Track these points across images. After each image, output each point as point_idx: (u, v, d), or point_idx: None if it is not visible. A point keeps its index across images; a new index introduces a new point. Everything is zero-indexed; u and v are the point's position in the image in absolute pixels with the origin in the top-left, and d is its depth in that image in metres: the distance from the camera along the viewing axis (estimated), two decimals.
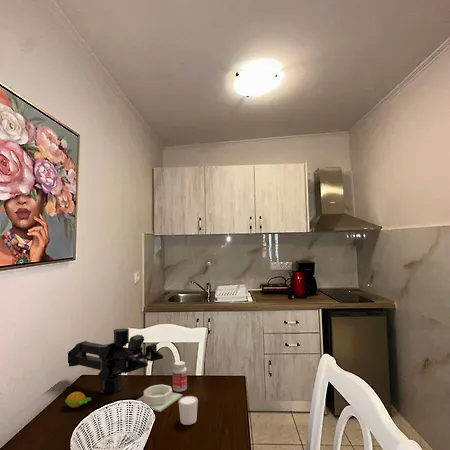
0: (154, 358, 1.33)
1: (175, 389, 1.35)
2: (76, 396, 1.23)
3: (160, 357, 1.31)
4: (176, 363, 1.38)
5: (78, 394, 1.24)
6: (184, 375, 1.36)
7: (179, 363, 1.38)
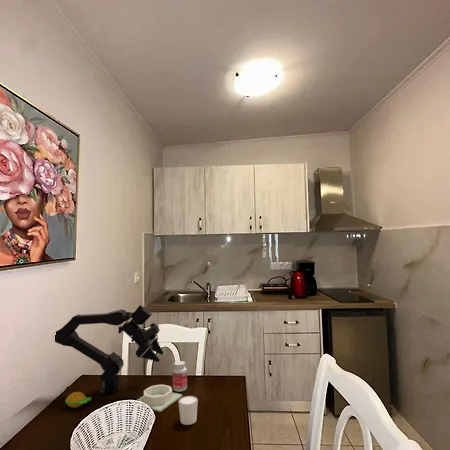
0: (153, 348, 1.43)
1: (175, 389, 1.35)
2: (76, 396, 1.23)
3: (160, 352, 1.43)
4: (176, 363, 1.38)
5: (78, 394, 1.24)
6: (184, 375, 1.36)
7: (179, 363, 1.38)
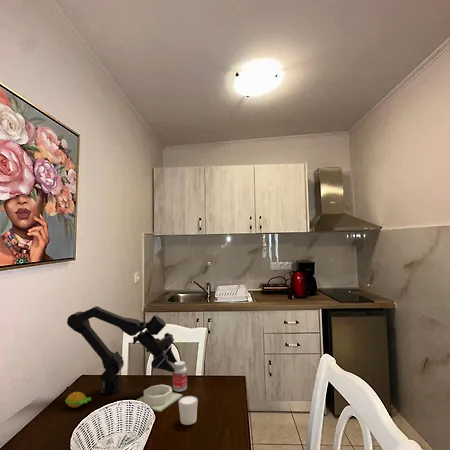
0: (167, 358, 1.43)
1: (175, 389, 1.35)
2: (76, 396, 1.23)
3: (174, 362, 1.43)
4: (176, 363, 1.38)
5: (78, 394, 1.24)
6: (184, 375, 1.36)
7: (179, 363, 1.38)
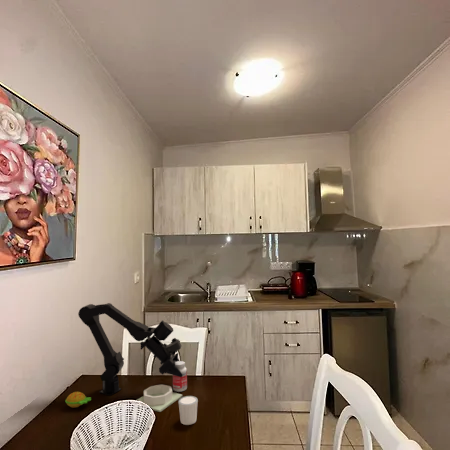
0: None
1: (175, 389, 1.35)
2: (76, 396, 1.23)
3: None
4: (176, 363, 1.38)
5: (78, 394, 1.24)
6: (184, 375, 1.36)
7: (179, 363, 1.38)
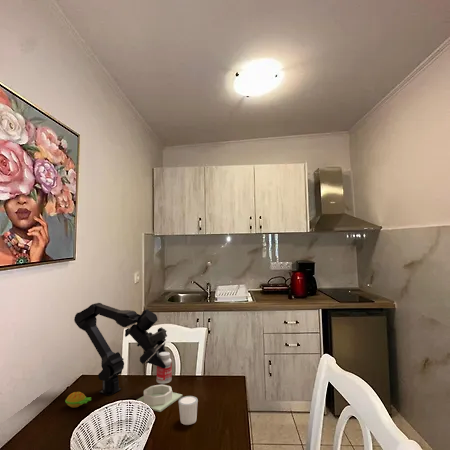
0: None
1: (158, 381, 1.29)
2: (76, 396, 1.23)
3: None
4: (160, 354, 1.31)
5: (78, 394, 1.24)
6: (168, 367, 1.29)
7: (163, 354, 1.31)
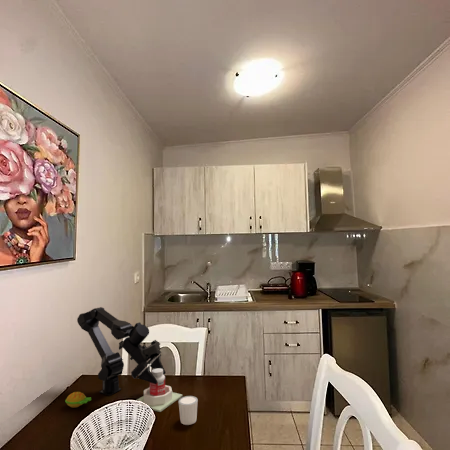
0: (155, 367, 1.34)
1: None
2: (76, 396, 1.23)
3: None
4: (153, 370, 1.29)
5: (78, 394, 1.24)
6: (161, 384, 1.26)
7: (156, 371, 1.28)
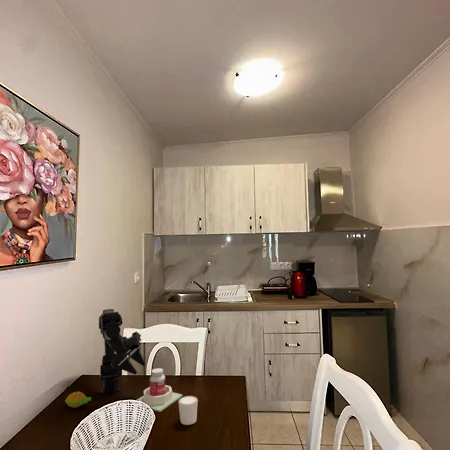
0: (135, 358, 1.36)
1: None
2: (76, 396, 1.23)
3: (142, 363, 1.35)
4: (153, 370, 1.29)
5: (78, 394, 1.24)
6: (161, 384, 1.26)
7: (156, 371, 1.28)
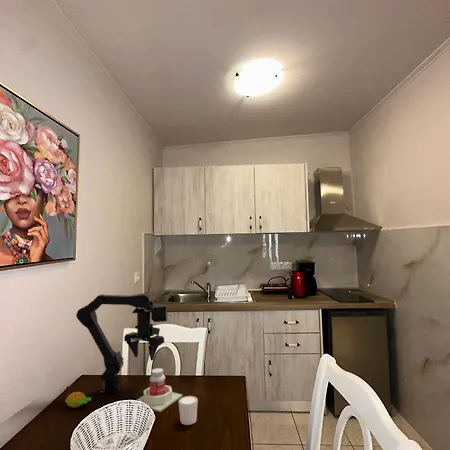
0: (133, 347, 1.41)
1: None
2: (76, 396, 1.23)
3: (136, 354, 1.41)
4: (153, 370, 1.29)
5: (78, 394, 1.24)
6: (161, 384, 1.26)
7: (156, 371, 1.28)
